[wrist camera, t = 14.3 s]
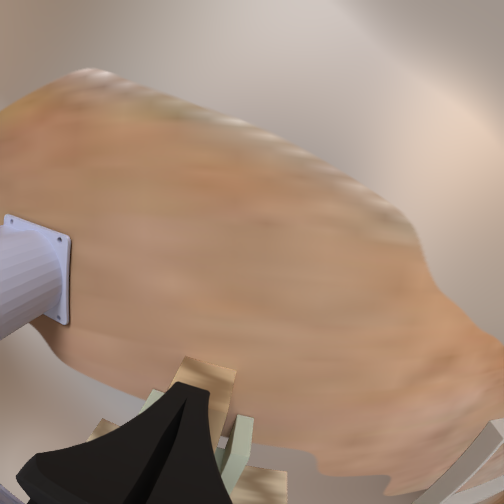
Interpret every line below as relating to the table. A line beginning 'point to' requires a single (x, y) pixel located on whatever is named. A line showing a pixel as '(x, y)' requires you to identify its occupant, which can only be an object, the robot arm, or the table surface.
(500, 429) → the gray rectangular frame
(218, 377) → the peg
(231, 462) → the block
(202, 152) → the table surface
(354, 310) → the table surface
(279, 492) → the wall
